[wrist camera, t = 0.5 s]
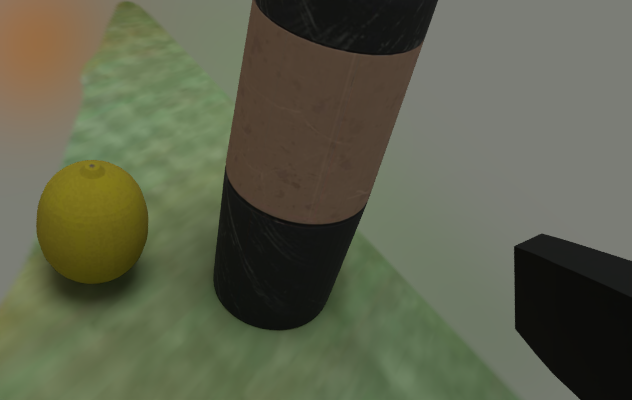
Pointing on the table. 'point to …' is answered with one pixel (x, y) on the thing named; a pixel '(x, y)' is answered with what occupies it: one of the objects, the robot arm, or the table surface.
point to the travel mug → (308, 147)
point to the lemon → (92, 222)
